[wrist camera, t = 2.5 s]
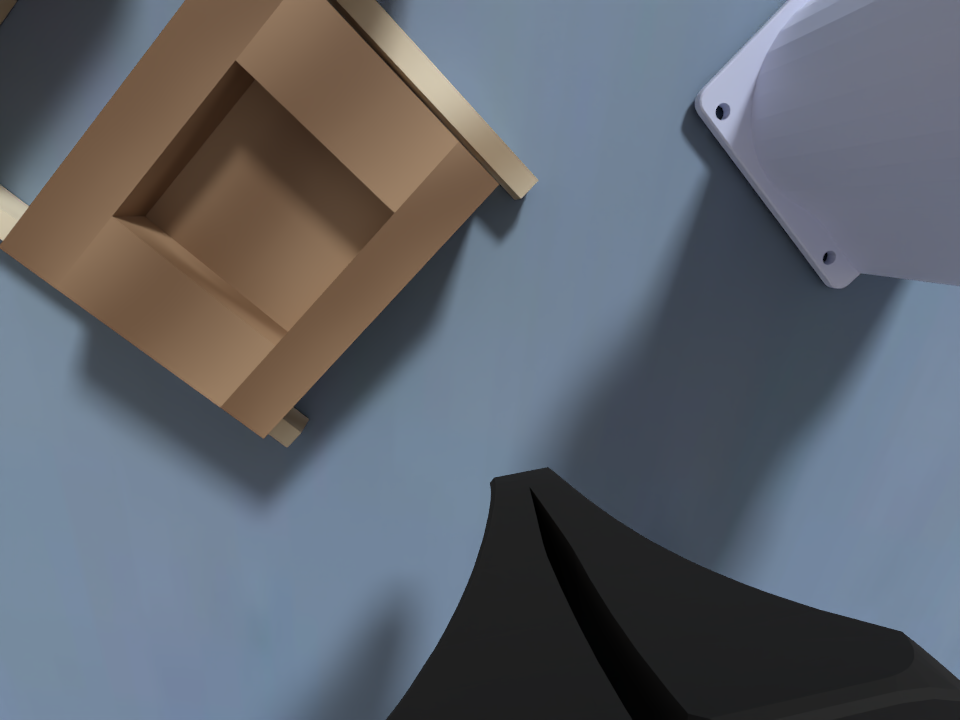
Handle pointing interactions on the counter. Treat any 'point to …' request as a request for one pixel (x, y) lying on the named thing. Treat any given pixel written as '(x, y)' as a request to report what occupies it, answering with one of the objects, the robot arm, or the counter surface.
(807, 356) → the counter surface
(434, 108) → the birch rail and backstop
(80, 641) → the counter surface
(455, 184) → the walnut block
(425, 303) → the counter surface
